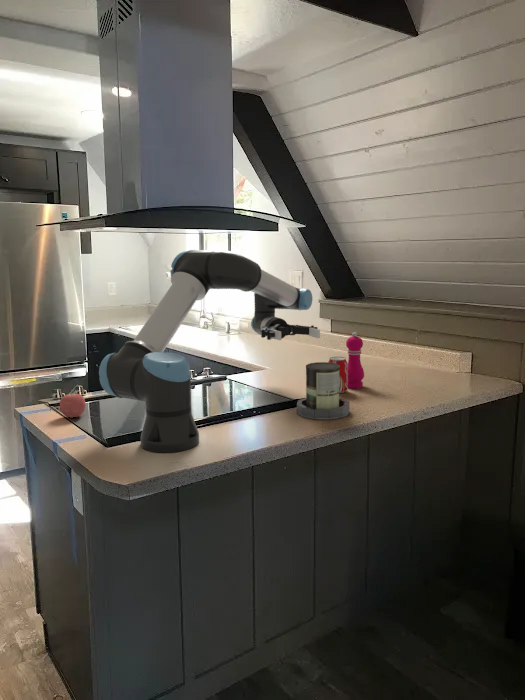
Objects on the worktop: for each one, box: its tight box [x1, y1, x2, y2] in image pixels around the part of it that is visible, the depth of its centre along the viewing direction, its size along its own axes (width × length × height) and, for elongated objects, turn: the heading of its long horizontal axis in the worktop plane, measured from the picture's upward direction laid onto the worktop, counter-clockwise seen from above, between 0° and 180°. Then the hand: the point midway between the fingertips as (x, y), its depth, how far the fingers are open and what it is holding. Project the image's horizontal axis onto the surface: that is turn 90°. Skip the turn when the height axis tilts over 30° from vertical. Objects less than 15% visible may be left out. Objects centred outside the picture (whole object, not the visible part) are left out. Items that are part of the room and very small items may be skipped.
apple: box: [59, 392, 86, 419], centre depth 175 cm, size 7×7×8 cm
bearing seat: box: [296, 397, 350, 421], centre depth 177 cm, size 16×16×3 cm
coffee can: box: [305, 361, 340, 409], centre depth 176 cm, size 10×10×14 cm
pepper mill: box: [345, 331, 365, 390], centre depth 207 cm, size 7×7×20 cm
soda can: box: [327, 356, 348, 394], centre depth 201 cm, size 7×7×12 cm
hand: (299, 335), depth 184 cm, fingers open, 13 cm apart
